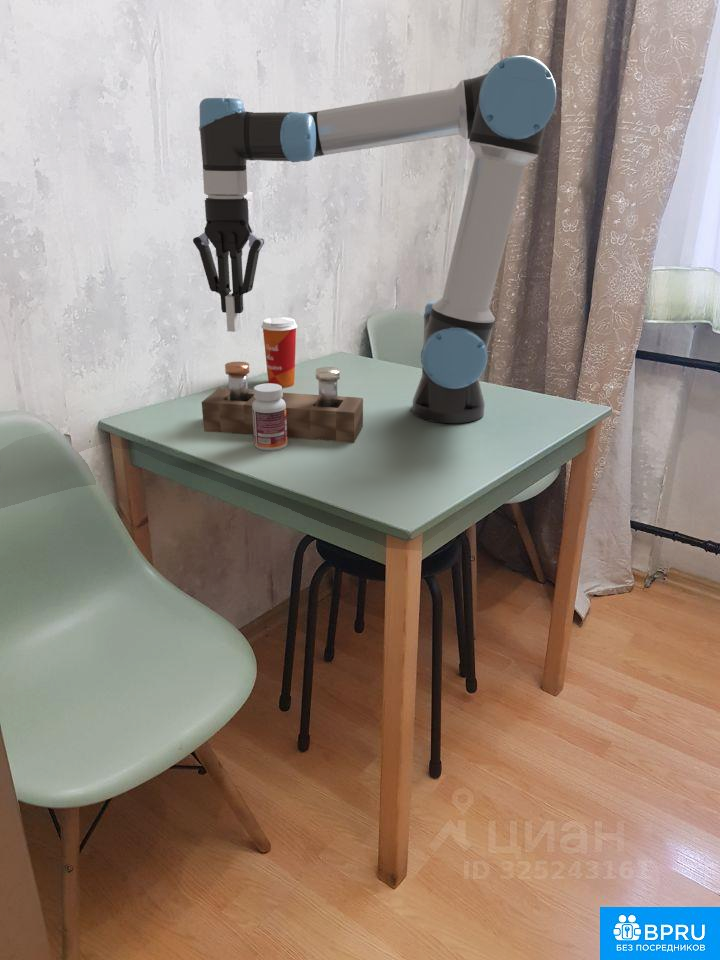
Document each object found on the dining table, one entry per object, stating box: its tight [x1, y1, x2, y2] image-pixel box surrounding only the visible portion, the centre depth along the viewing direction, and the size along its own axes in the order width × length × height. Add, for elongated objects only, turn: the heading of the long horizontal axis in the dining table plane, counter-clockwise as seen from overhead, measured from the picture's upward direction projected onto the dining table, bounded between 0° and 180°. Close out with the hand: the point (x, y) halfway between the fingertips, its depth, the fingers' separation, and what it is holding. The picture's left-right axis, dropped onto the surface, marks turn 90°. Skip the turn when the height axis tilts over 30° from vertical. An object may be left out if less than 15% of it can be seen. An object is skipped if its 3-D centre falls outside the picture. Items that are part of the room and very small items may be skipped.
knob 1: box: [224, 361, 250, 402], centre depth 144 cm, size 5×5×7 cm
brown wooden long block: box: [201, 387, 364, 444], centre depth 145 cm, size 30×9×6 cm, turn 79°
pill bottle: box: [252, 382, 288, 451], centre depth 135 cm, size 6×6×11 cm
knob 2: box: [315, 366, 341, 408], centre depth 141 cm, size 5×5×7 cm
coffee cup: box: [260, 316, 298, 389], centre depth 170 cm, size 8×8×15 cm
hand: (233, 329), depth 139 cm, fingers closed
